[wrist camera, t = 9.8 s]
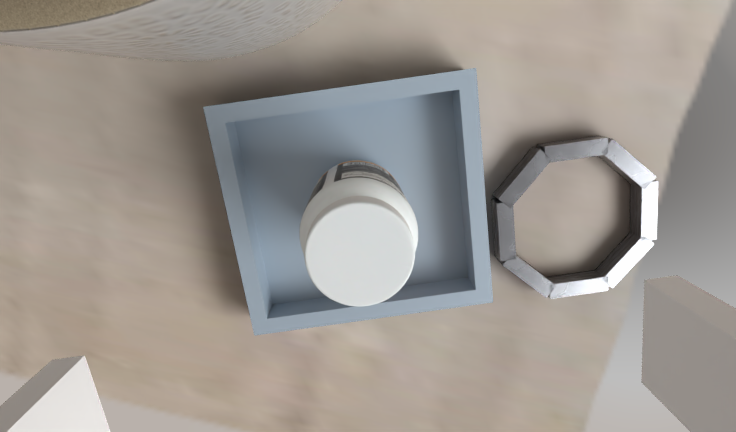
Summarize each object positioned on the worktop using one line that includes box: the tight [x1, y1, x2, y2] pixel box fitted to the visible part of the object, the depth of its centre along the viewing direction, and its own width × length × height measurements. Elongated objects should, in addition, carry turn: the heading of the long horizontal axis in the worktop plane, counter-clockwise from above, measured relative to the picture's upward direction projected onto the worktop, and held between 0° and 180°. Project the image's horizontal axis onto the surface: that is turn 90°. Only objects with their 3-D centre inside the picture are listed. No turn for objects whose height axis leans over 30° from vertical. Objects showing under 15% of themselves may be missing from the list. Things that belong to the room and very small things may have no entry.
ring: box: [491, 136, 658, 299], centre depth 29 cm, size 10×10×1 cm
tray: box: [203, 68, 493, 335], centre depth 28 cm, size 14×15×2 cm
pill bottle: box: [299, 160, 418, 307], centre depth 24 cm, size 6×6×10 cm
